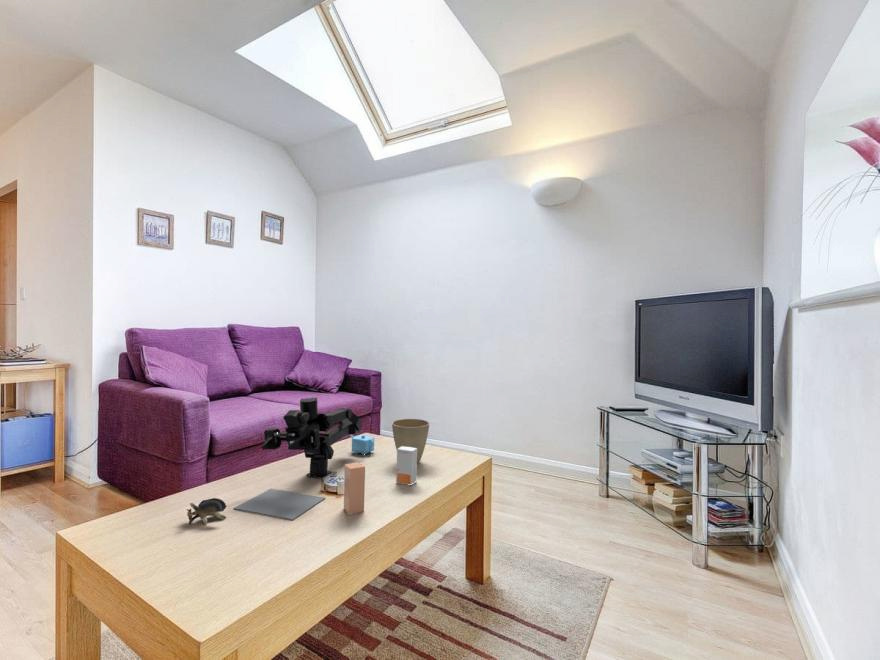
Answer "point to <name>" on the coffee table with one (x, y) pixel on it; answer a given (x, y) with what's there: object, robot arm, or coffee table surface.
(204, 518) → the grey brown animal figure
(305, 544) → the coffee table surface
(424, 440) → the plant pot
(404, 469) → the skincare box
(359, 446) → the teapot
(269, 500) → the mat
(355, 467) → the block
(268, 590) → the coffee table surface
